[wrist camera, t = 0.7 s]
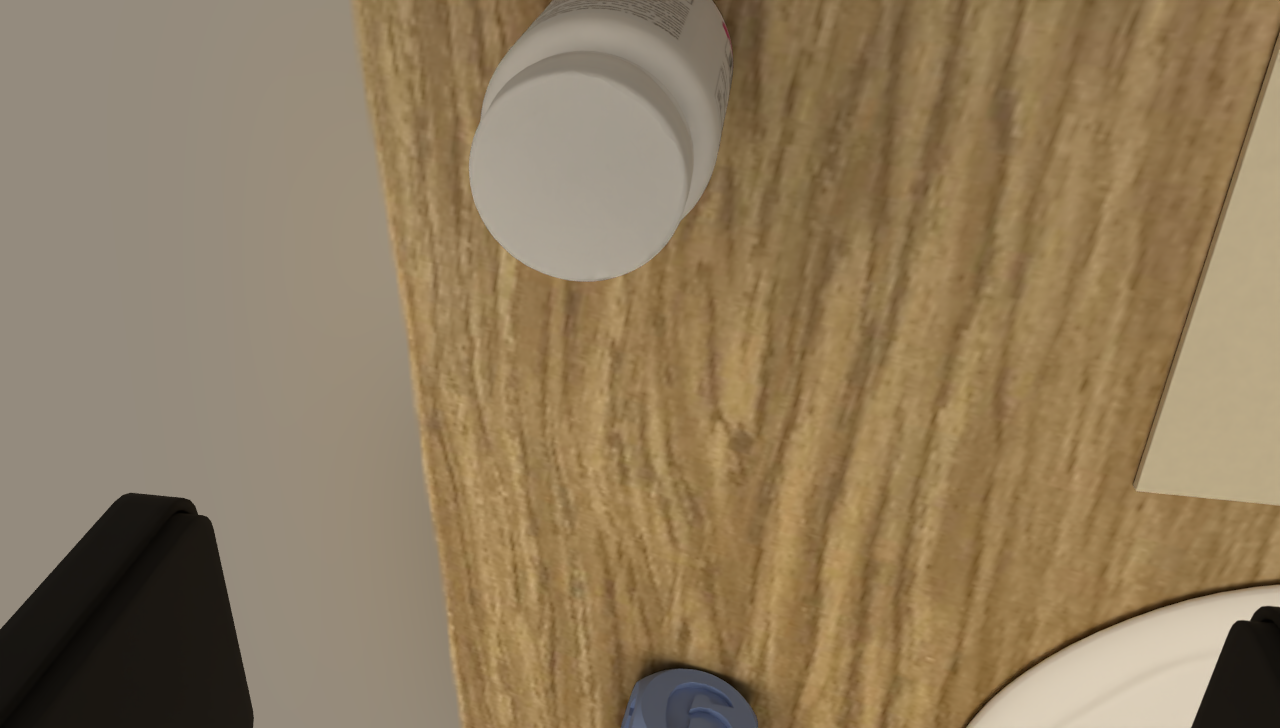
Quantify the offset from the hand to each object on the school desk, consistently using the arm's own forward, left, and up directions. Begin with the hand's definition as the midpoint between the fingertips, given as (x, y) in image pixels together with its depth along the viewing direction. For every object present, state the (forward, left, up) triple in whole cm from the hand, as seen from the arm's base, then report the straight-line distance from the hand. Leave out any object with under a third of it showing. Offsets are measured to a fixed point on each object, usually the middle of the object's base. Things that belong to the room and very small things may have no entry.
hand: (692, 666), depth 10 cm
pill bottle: (-1, -3, -19) cm, 20 cm away
